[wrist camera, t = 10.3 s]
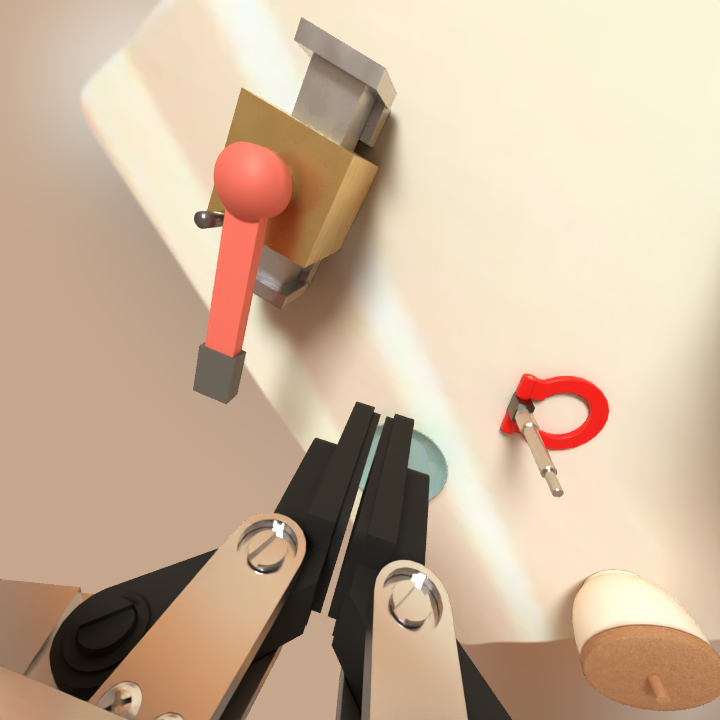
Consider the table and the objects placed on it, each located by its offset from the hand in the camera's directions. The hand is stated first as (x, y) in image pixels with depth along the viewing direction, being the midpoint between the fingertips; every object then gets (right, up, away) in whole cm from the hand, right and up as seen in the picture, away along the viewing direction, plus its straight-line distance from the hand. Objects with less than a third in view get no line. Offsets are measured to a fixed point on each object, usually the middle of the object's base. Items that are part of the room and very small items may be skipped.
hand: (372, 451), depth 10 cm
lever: (-9, +8, +15) cm, 19 cm away
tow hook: (+20, -2, +27) cm, 33 cm away
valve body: (-4, +18, +23) cm, 29 cm away
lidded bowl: (+31, -26, +35) cm, 53 cm away
